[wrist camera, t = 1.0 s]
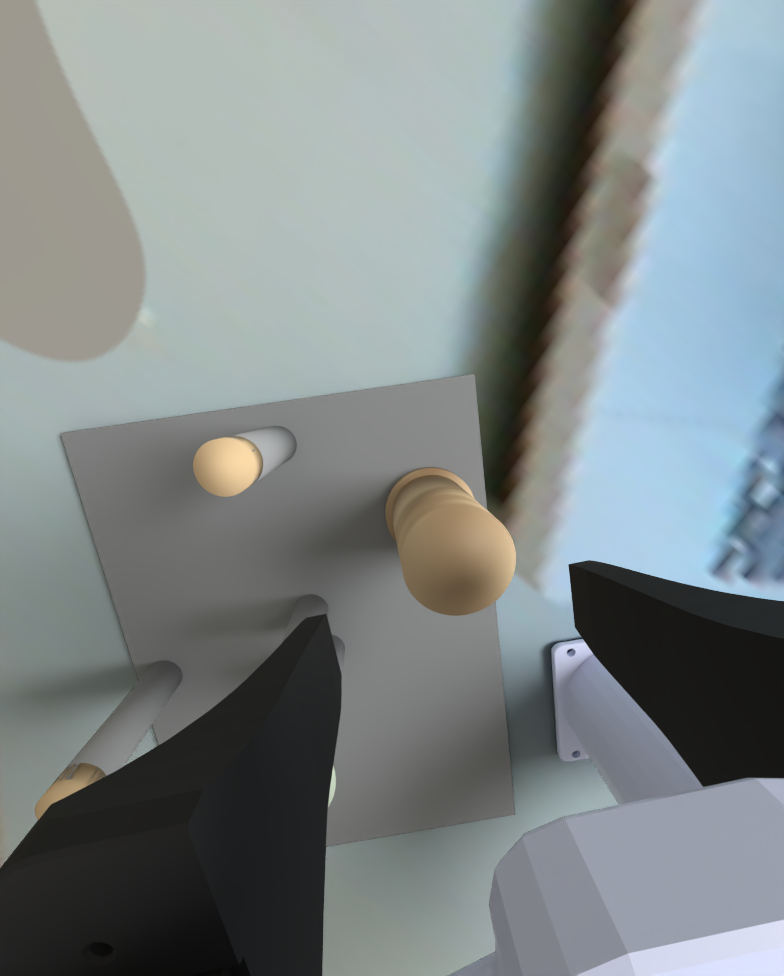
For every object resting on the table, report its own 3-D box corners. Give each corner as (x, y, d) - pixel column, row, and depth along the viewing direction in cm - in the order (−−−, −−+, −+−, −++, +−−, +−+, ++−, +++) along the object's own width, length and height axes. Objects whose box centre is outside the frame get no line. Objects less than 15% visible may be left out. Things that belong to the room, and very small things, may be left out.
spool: (468, 460, 20) (519, 489, 13) (477, 545, 21) (528, 612, 14) (379, 473, 20) (384, 509, 13) (392, 558, 21) (402, 632, 14)
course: (472, 374, 20) (538, 355, 12) (513, 808, 25) (575, 983, 18) (66, 432, 19) (-138, 451, 12) (200, 861, 25) (124, 1066, 17)
